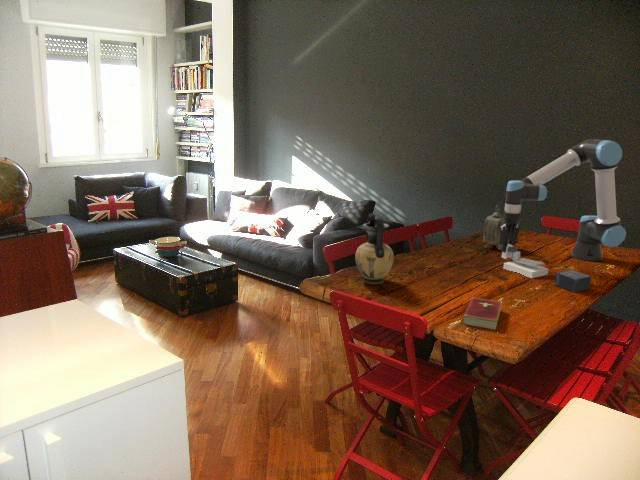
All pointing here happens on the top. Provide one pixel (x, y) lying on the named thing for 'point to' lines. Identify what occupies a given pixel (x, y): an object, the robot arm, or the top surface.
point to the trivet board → (526, 269)
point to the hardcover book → (482, 313)
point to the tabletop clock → (493, 228)
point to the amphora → (374, 252)
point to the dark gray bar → (517, 258)
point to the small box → (573, 280)
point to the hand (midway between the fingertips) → (506, 257)
